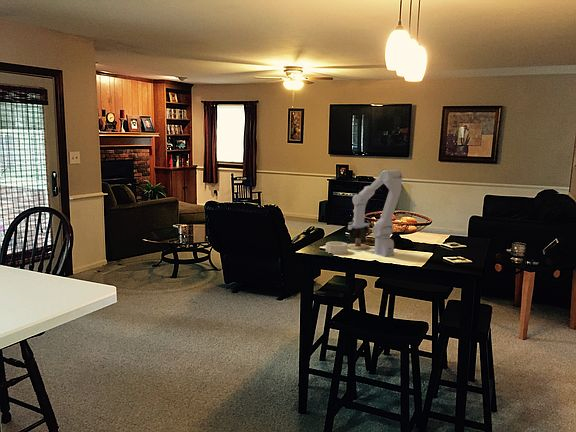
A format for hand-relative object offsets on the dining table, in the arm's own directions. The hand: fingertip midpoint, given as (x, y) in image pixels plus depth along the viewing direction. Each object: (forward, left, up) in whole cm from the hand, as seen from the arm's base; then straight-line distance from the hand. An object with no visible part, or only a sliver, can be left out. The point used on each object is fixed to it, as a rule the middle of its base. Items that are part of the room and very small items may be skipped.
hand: (358, 241), depth 269 cm
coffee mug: (+17, -16, -4) cm, 24 cm away
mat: (0, 0, -4) cm, 4 cm away
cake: (+30, -30, -4) cm, 43 cm away
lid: (0, 0, -4) cm, 4 cm away
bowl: (-1, +17, -4) cm, 17 cm away
